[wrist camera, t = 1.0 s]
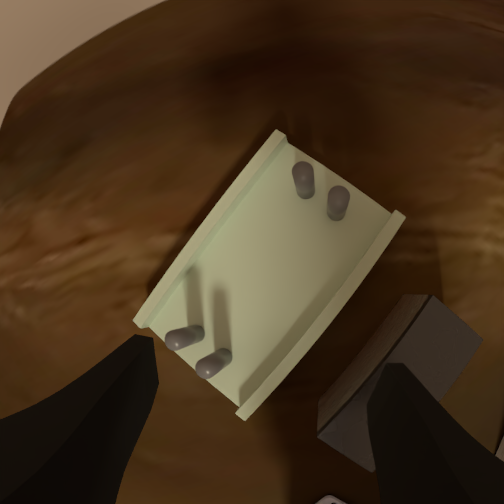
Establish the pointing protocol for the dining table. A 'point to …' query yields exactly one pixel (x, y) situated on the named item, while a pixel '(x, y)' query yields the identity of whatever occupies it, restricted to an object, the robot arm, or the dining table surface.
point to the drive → (395, 351)
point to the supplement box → (501, 450)
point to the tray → (267, 272)
